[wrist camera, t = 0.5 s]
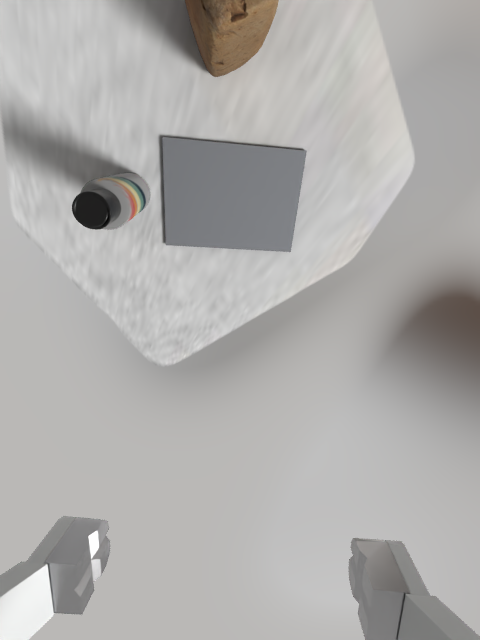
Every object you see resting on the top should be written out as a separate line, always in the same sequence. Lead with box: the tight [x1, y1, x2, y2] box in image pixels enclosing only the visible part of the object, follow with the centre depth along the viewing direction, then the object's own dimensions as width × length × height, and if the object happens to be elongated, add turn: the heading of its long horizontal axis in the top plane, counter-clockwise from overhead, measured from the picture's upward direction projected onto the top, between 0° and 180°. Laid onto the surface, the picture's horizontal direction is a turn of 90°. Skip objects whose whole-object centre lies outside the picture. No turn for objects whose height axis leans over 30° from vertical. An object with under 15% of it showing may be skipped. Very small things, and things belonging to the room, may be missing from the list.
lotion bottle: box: [72, 173, 150, 230], centre depth 40 cm, size 6×6×20 cm
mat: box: [162, 137, 306, 252], centre depth 50 cm, size 22×16×1 cm
